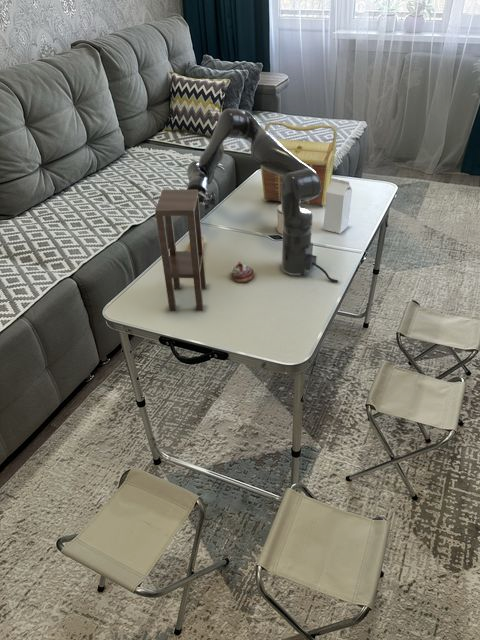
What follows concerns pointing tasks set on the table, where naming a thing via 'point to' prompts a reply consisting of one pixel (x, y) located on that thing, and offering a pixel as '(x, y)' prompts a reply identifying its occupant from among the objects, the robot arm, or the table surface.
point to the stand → (178, 261)
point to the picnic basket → (310, 154)
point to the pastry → (242, 273)
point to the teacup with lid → (280, 219)
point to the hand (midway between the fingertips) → (194, 207)
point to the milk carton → (337, 205)
